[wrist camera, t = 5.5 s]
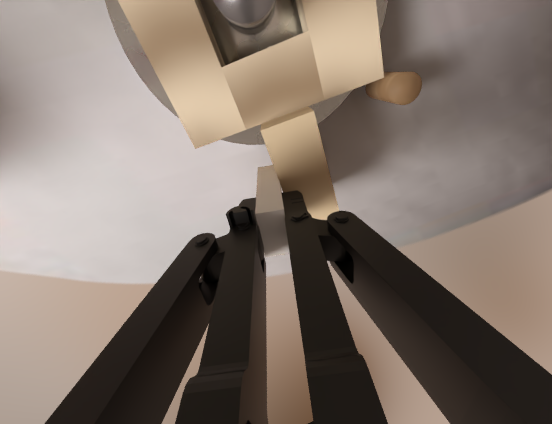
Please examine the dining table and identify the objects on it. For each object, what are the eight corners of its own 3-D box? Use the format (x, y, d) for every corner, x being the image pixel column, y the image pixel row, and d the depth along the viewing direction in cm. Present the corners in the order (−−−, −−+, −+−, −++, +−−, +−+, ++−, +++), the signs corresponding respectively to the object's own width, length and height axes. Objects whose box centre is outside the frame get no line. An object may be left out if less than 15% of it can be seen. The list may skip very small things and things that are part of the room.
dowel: (370, 69, 16) (399, 68, 13) (393, 75, 16) (427, 75, 13) (362, 95, 17) (386, 101, 13) (383, 100, 17) (413, 107, 14)
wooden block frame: (81, -102, 11) (-1, -178, 8) (328, -245, 10) (363, -422, 6) (241, 219, 20) (236, 249, 17) (383, 174, 19) (410, 196, 15)
